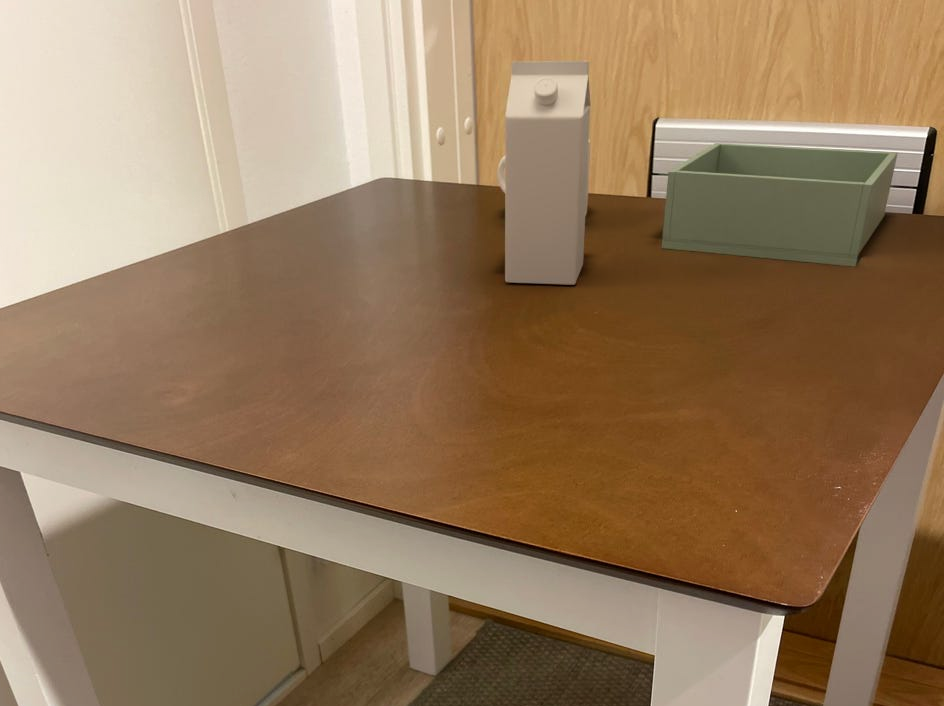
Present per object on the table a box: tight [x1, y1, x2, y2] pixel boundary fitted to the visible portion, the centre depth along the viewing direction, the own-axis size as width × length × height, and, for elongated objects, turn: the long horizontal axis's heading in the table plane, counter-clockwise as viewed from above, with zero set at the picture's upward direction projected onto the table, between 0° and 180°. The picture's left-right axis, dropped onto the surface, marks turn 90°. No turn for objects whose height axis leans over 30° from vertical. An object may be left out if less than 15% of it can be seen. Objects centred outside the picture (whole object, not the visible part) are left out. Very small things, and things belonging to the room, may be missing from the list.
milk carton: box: [504, 60, 591, 286], centre depth 94 cm, size 7×7×19 cm
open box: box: [661, 142, 898, 268], centre depth 108 cm, size 21×19×8 cm
